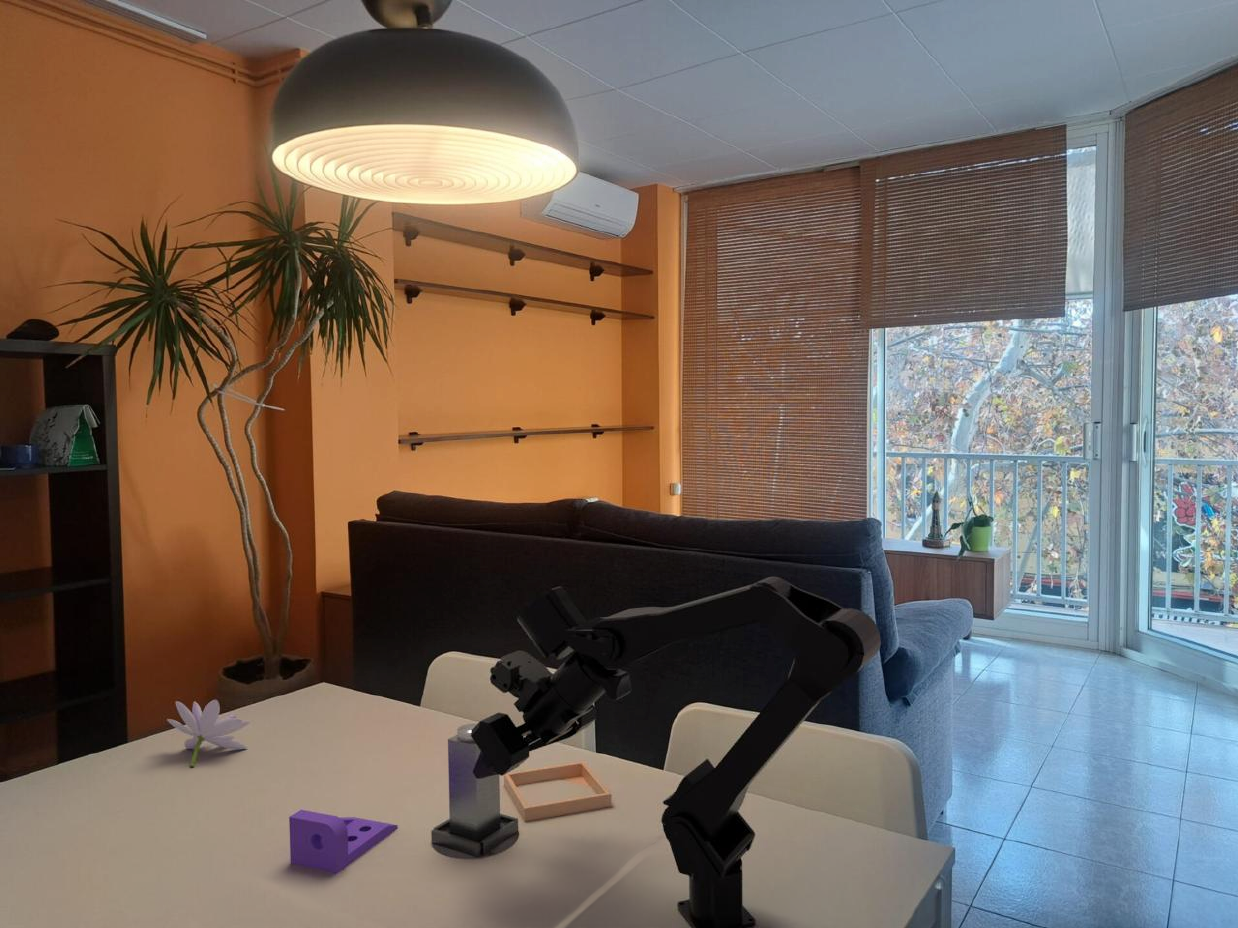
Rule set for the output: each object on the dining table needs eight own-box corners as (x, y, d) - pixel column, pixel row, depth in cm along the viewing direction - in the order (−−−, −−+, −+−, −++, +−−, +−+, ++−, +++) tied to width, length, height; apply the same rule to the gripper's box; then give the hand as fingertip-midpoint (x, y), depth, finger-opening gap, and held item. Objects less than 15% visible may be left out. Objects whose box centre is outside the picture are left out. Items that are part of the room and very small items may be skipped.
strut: (500, 833, 112) (498, 726, 112) (477, 848, 109) (475, 737, 108) (473, 825, 115) (471, 720, 114) (450, 839, 111) (447, 731, 110)
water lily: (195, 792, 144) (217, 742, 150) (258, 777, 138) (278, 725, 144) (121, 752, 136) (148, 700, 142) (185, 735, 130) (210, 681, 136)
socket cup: (536, 834, 114) (535, 816, 113) (481, 873, 104) (481, 853, 104) (470, 816, 119) (470, 798, 119) (412, 850, 110) (412, 832, 110)
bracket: (337, 882, 103) (335, 825, 103) (291, 872, 106) (289, 816, 105) (397, 836, 114) (396, 785, 114) (354, 828, 117) (353, 777, 116)
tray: (611, 811, 120) (611, 793, 120) (524, 826, 116) (524, 808, 116) (584, 777, 131) (583, 761, 131) (504, 790, 127) (503, 773, 127)
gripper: (576, 618, 113) (509, 689, 119) (483, 652, 97) (411, 732, 103) (629, 688, 110) (557, 757, 116) (541, 735, 94) (463, 812, 100)
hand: (499, 761), depth 109 cm, fingers open, 9 cm apart
